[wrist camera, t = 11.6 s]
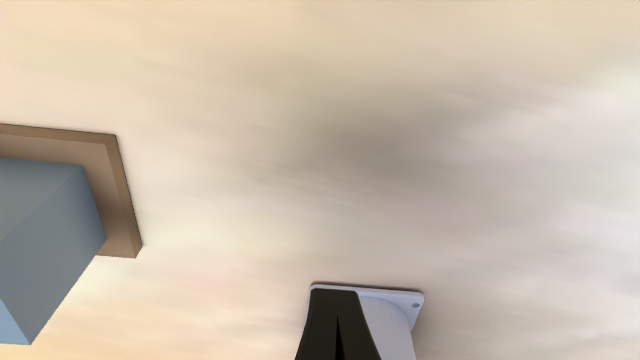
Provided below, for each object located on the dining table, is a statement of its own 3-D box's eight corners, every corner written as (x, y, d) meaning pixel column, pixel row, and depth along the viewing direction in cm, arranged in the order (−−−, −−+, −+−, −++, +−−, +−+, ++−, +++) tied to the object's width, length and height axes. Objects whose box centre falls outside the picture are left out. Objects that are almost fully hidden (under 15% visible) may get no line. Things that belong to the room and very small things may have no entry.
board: (142, 246, 23) (135, 258, 22) (12, 236, 22) (0, 247, 21) (115, 134, 18) (105, 144, 17) (-49, 119, 18) (-67, 127, 17)
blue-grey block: (107, 239, 21) (30, 345, 15) (15, 232, 21) (-95, 337, 15) (82, 165, 18) (-23, 263, 13) (-24, 155, 18) (-178, 251, 12)
